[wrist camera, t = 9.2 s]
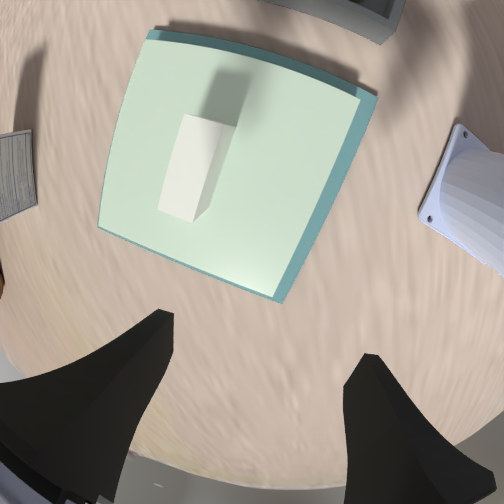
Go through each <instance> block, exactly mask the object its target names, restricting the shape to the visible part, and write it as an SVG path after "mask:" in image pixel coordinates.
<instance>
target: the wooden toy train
mask: <svg viewBox="0 0 504 504" xmlns="http://www.w3.org/2000/svg"><path fill="white" fill-rule="evenodd" d="M2 293H3V278H2V275H1V272H0V299H1V296H2Z"/></svg>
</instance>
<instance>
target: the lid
mask: <svg viewBox="0 0 504 504" xmlns="http://www.w3.org/2000/svg"><path fill="white" fill-rule="evenodd" d="M359 103H360V99H358V98H356V97H354V96H352V95H350V94H348V93H346V92H344V91H342V90H339V89H337V88H335V87H333V86H330V85H328V84H326V83H323V82H321V81H319V80H316V79H314V78H311V77H309V76H306V75H303V74H301V73H298V72H295V71H292V70H290V69H287V68H284V67H281V66H278V65H275V64H271V63H268V62H265V61H262V60H258V59H255V58H251V57H247V56H243V55H240V54H235V53H231V52H227V51H222V50H218V49H213V48H208V47H202V46H197V45H191V44H184V43H177V42H169V41H159V40H148V39H146V40H145V42H144V44H143V47H142V49H141V52H140V54H139V57H138V59H137V62H136V64H135V67H134V70H133V73H132V75H131V78H130V81H129V84H128V87H127V90H126V93H125V96H124V100H123V103H122V106H121V110H120V113H119V117H118V121H117V124H116V128H115V132H114V136H113V140H112V145H111V149H110V154H109V159H108V164H107V169H106V174H105V180H104V186H103V193H102V199H101V207H100V215H99V224H98V226H100V227H102V228H104V229H106V230H108V231H111V232H113V233H115V234H117V235H120V236H122V237H124V238H127V239H129V240H131V241H133V242H136V243H138V244H140V245H143V246H145V247H147V248H150V249H152V250H154V251H157V252H159V253H162V254H164V255H166V256H169V257H171V258H174V259H176V260H178V261H181V262H183V263H186V264H188V265H191V266H193V267H196V268H198V269H201V270H203V271H206V272H208V273H211V274H213V275H216V276H218V277H221V278H223V279H226V280H228V281H231V282H233V283H236V284H239V285H241V286H244V287H246V288H249V289H252V290H254V291H257V292H260V293H262V294H265V295H268V296H270V297H273V295H274V293H275V291H276V289H277V287H278V284H279V282H280V280H281V278H282V276H283V274H284V272H285V270H286V268H287V266H288V264H289V262H290V260H291V258H292V256H293V254H294V251H295V249H296V247H297V245H298V243H299V241H300V239H301V237H302V234H303V232H304V230H305V228H306V226H307V224H308V222H309V219H310V217H311V215H312V213H313V211H314V208H315V206H316V204H317V202H318V200H319V197H320V195H321V193H322V191H323V188H324V186H325V184H326V182H327V179H328V177H329V175H330V172H331V170H332V168H333V165H334V163H335V161H336V158H337V156H338V154H339V151H340V149H341V147H342V144H343V142H344V139H345V137H346V135H347V132H348V130H349V127H350V125H351V122H352V120H353V118H354V115H355V113H356V110H357V108H358V105H359Z"/></svg>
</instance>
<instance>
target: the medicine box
mask: <svg viewBox="0 0 504 504" xmlns="http://www.w3.org/2000/svg"><path fill="white" fill-rule="evenodd" d="M31 132H32V130H31V129H28V130H22V131H17V132H11V133H6V134H1V135H0V224H1V223H3V222H4V221H6V220H8V219H10V218H12V217H14V216H16V215H18V214H20V213H22V212H25V211H27V210H29V209H31V208H34V207H36V206H37V201H36V194H35V185H34V176H33V163H32V142H31Z"/></svg>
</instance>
